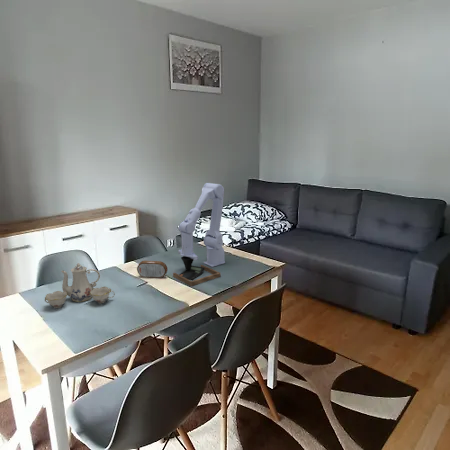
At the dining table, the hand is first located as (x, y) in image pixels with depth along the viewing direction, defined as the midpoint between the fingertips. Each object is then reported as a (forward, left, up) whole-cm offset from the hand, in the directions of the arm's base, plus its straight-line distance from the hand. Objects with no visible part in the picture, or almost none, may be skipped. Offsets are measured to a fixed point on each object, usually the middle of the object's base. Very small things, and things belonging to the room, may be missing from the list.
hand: (188, 269), depth 190 cm
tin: (+17, -7, -2) cm, 18 cm away
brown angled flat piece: (0, +7, -1) cm, 7 cm away
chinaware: (+54, -4, -2) cm, 54 cm away
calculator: (+1, +3, -2) cm, 4 cm away
